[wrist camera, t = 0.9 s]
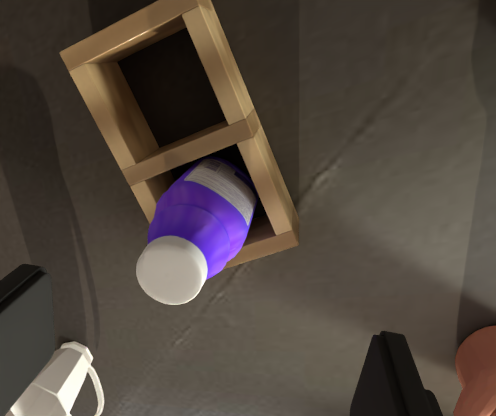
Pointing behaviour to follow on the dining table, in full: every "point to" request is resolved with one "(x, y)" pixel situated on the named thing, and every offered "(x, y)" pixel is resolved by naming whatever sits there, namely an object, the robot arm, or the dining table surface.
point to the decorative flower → (477, 374)
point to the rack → (191, 147)
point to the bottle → (196, 229)
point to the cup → (59, 384)
